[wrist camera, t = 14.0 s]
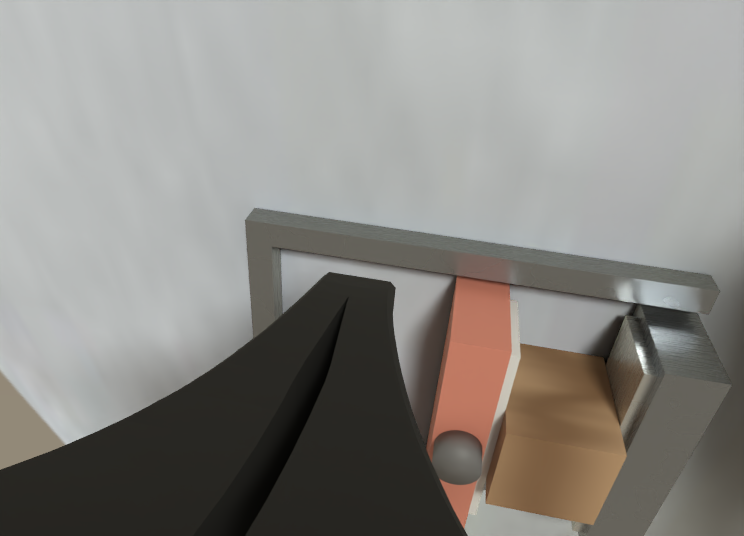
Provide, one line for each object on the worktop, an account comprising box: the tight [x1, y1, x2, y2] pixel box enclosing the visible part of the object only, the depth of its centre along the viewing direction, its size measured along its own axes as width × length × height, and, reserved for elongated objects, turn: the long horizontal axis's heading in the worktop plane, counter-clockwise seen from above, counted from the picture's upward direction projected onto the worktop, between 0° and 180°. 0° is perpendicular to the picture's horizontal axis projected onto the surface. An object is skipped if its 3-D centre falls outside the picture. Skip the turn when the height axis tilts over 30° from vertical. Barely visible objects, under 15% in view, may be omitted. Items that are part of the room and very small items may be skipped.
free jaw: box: [426, 275, 521, 528], centre depth 22 cm, size 2×10×5 cm, turn 176°
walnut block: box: [486, 344, 627, 525], centre depth 22 cm, size 4×4×5 cm
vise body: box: [245, 208, 732, 536], centre depth 23 cm, size 17×13×4 cm
